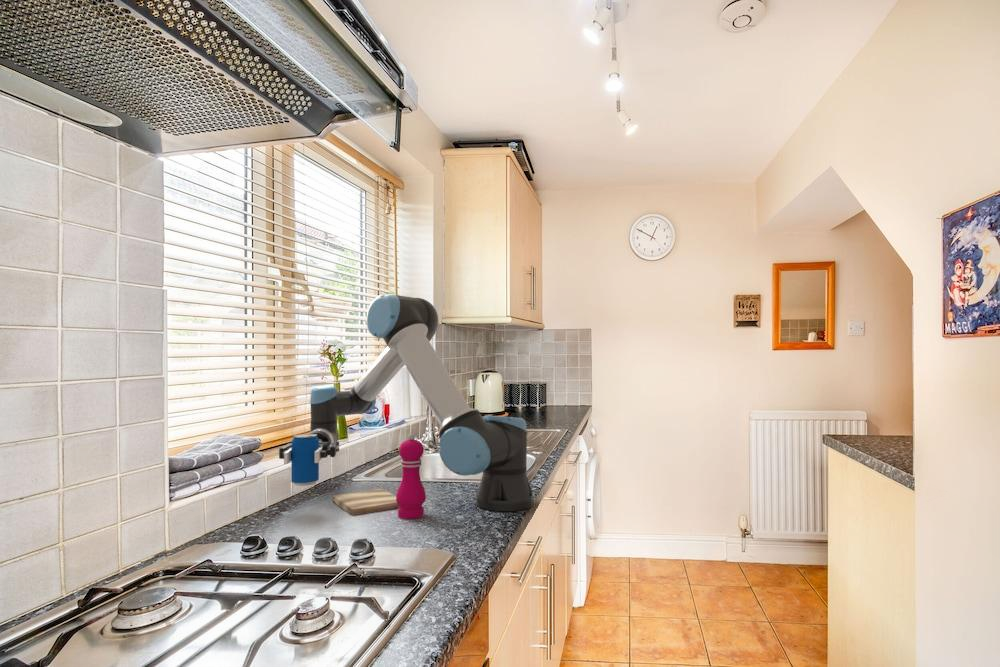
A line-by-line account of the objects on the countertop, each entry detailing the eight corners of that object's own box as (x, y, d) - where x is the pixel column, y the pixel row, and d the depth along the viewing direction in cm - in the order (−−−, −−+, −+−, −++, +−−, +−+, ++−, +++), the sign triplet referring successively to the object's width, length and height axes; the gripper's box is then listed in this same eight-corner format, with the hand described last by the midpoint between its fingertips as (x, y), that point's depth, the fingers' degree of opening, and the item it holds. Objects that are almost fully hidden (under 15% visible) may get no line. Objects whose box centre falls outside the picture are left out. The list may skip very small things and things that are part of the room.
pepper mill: (419, 520, 132) (420, 435, 133) (391, 518, 134) (391, 435, 135) (429, 512, 139) (430, 431, 140) (402, 510, 141) (402, 431, 142)
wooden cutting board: (405, 506, 144) (405, 500, 144) (352, 515, 137) (352, 509, 137) (381, 493, 158) (382, 488, 158) (332, 501, 150) (332, 495, 150)
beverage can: (323, 483, 140) (323, 435, 140) (299, 487, 135) (299, 437, 135) (310, 479, 144) (310, 432, 145) (286, 483, 139) (286, 435, 140)
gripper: (353, 455, 159) (342, 471, 136) (281, 458, 156) (258, 475, 133) (353, 429, 159) (342, 441, 136) (282, 431, 156) (259, 443, 134)
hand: (301, 457), depth 135 cm, fingers closed on beverage can, 6 cm apart
